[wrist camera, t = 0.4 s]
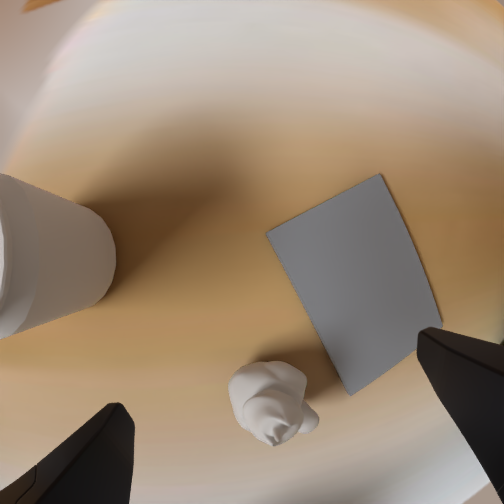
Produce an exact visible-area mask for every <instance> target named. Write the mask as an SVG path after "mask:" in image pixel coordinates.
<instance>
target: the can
mask: <svg viewBox="0 0 504 504" xmlns="http://www.w3.org/2000/svg"><path fill="white" fill-rule="evenodd" d="M115 267H116V247H115V244H114V241H113V237H112V234H111V231H110V229H109V228H108V226H107V225H106V223H105V222H104V220H103V219H102V218H101V217H100V216H99V215H97V214H96V213H95V212H93V211H92V210H91V209H89V208H87V207H84V206H82V205H79V204H77V203H74V202H72V201H69V200H67V199H64V198H62V197H60V196H57V195H55V194H52V193H50V192H47V191H45V190H42V189H40V188H38V187H35V186H33V185H30V184H28V183H26V182H23V181H21V180H19V179H16V178H14V177H11V176H9V175H5V174H1V173H0V339H3V338H5V337H8V336H11V335H14V334H16V333H19V332H22V331H25V330H28V329H30V328H33V327H36V326H39V325H41V324H44V323H47V322H50V321H52V320H55V319H58V318H61V317H64V316H66V315H69V314H72V313H75V312H78V311H80V310H83V309H86V308H88V307H91V306H93V305H94V304H95V303H97V302H98V301H99V300H100V299H101V298H102V297H103V296H104V295H105V293H106V292H107V290H108V288H109V286H110V285H111V283H112V280H113V276H114V272H115Z"/></svg>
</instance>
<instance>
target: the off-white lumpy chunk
mask: <svg viewBox="0 0 504 504" xmlns="http://www.w3.org/2000/svg"><path fill="white" fill-rule="evenodd" d="M306 386H307V378H306V376H305V375H304V374H303V373H302V372H301V371H300V370H298V369H297V368H295V367H293V366H291V365H290V364H288V363H286V362H282V361H270V362H255V363H252V364H248V365H245V366H242V367H241V368H240V369H238V370H237V371H236V372H235V373H234V374H233V376H232V377H231V378H230V380H229V383H228V390H229V395H230V400H231V404H232V407H233V412H234V415H235V417H236V419H237V421H238V423H239V424H240V425H241V427H242V428H244V429H245V430H248V431H250V432H252V434H253V435H254V436H255V437H256V438H257V439H258V440H260V441H262V442H264V443H266V444H269V445H271V446H277V445H280V444H282V443H284V442H286V441H288V440H289V439H290V438H292V437H293V436H294V435H295V434H296V433H297V432H300V433H304V434H307V433H310V432H312V431H313V430H314V429H315V428H316V427H317V425H318V423H319V416H318V415H317V413H316V412H315V411H314V410H313V409H311V407H310V406H309V405H308V404H307V402H305V401H304V400H303V399H304V395H305V388H306Z"/></svg>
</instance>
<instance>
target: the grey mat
mask: <svg viewBox="0 0 504 504" xmlns="http://www.w3.org/2000/svg"><path fill="white" fill-rule="evenodd" d="M265 234H266V236H267V237H268V239H269V241H270V243H271V245H272V247H273V249H274V251H275V253H276V254H277V256H278V258H279V260H280V262H281V264H282V266H283V268H284V270H285V272H286V273H287V275H288V277H289V279H290V281H291V283H292V285H293V287H294V289H295V291H296V293H297V294H298V296H299V298H300V300H301V302H302V304H303V306H304V308H305V310H306V312H307V314H308V316H309V318H310V320H311V322H312V324H313V326H314V327H315V329H316V331H317V333H318V335H319V337H320V339H321V341H322V343H323V345H324V347H325V349H326V351H327V353H328V355H329V357H330V359H331V361H332V363H333V365H334V367H335V369H336V371H337V373H338V375H339V377H340V379H341V381H342V383H343V385H344V387H345V389H346V391H347V393H348V394H349V395H350V396H351V395H353V394H354V393H356V392H358V391H359V390H361V389H362V388H364V387H365V386H367V385H368V384H370V383H371V382H372V381H374V380H375V379H377V378H378V377H380V376H381V375H382V374H384V373H385V372H387V371H388V370H389V369H391V368H392V367H393V366H395V365H396V364H397V363H399V362H400V361H401V360H403V359H404V358H405V357H407V356H408V355H409V354H410V353H412V352H413V351H414V350H415V349H417V338H418V333H419V331H420V330H423V329H425V328H427V327H435V328H438V329H440V328H441V327H443V325H442V322H441V319H440V315H439V312H438V309H437V306H436V303H435V300H434V297H433V294H432V291H431V289H430V286H429V283H428V280H427V278H426V275H425V272H424V270H423V267H422V264H421V262H420V259H419V257H418V254H417V252H416V250H415V247H414V245H413V242H412V240H411V238H410V235H409V233H408V231H407V229H406V226H405V224H404V222H403V220H402V218H401V215H400V213H399V211H398V209H397V207H396V205H395V203H394V201H393V199H392V197H391V195H390V193H389V191H388V189H387V187H386V185H385V183H384V181H383V179H382V177H381V175H380V173H379V174H378V175H376V176H374V177H372V178H370V179H368V180H366V181H364V182H362V183H360V184H358V185H356V186H354V187H352V188H350V189H349V190H347V191H345V192H343V193H341V194H339V195H337V196H335V197H333V198H331V199H329V200H327V201H326V202H324V203H322V204H320V205H318V206H316V207H314V208H312V209H310V210H308V211H306V212H305V213H303V214H301V215H299V216H297V217H295V218H293V219H291V220H289V221H287V222H286V223H284V224H282V225H280V226H278V227H276V228H274V229H272V230H270V231H269V232H267V233H265Z"/></svg>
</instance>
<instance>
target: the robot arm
mask: <svg viewBox="0 0 504 504" xmlns="http://www.w3.org/2000/svg"><path fill="white" fill-rule="evenodd" d="M417 358H418V360H419V362H420V364H421V366H422V368H423V370H424V372H425V373H426V375H427V377H428V379H429V381H430V383H431V385H432V387H433V389H434V391H435V392H436V394H437V396H438V398H439V399H440V401H441V402H442V404H443V405H444V407H445V408H446V410H447V411H448V413H449V414H450V416H451V417H452V419H453V420H454V422H455V424H456V425H457V427H458V428H459V430H460V431H461V433H462V434H463V436H464V438H465V439H466V441H467V442H468V444H469V446H470V447H471V449H472V450H473V452H474V454H475V455H476V457H477V459H478V460H479V462H480V464H481V465H482V467H483V469H484V471H485V472H486V474H487V476H488V477H489V479H490V481H491V483H492V484H493V486H494V488H495V490H496V492H497V494H498V496H499V498H500V499H501V501H502V503H503V504H504V346H503V345H499V344H495V343H491V342H488V341H484V340H480V339H476V338H472V337H468V336H465V335H461V334H457V333H453V332H449V331H446V330H442V329H438V328H435V327H427V328H425V329H423V330H420V331H419V333H418V338H417ZM134 436H135V424H134V421H133V419H132V418H131V416H130V415H129V413H128V412H127V410H126V409H125V407H124V406H123V404H121V403H119V402H117V403H109V404H107V405H106V406H105V407H104V408H102V409H101V410H100V411H99V412H98V413H97V414H95V415H94V416H93V417H92V418H91V419H90V420H88V421H87V422H86V423H85V424H84V425H83V426H81V427H80V428H79V429H78V430H77V431H76V432H74V433H73V434H72V435H71V436H70V437H68V438H67V439H66V440H65V441H64V442H62V443H61V444H60V445H59V446H58V447H57V448H55V449H54V450H53V451H52V452H51V453H49V454H48V455H47V456H46V457H45V458H43V459H42V460H41V461H40V462H39V463H37V465H35V466H34V467H32V468H31V469H30V470H29V471H27V472H26V473H25V474H24V475H22V476H21V477H20V478H19V479H17V480H16V481H14V482H13V483H11V484H10V485H8V486H7V487H5V488H4V489H2V490H1V491H0V504H129V500H130V491H131V483H132V475H133V465H134Z"/></svg>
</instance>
